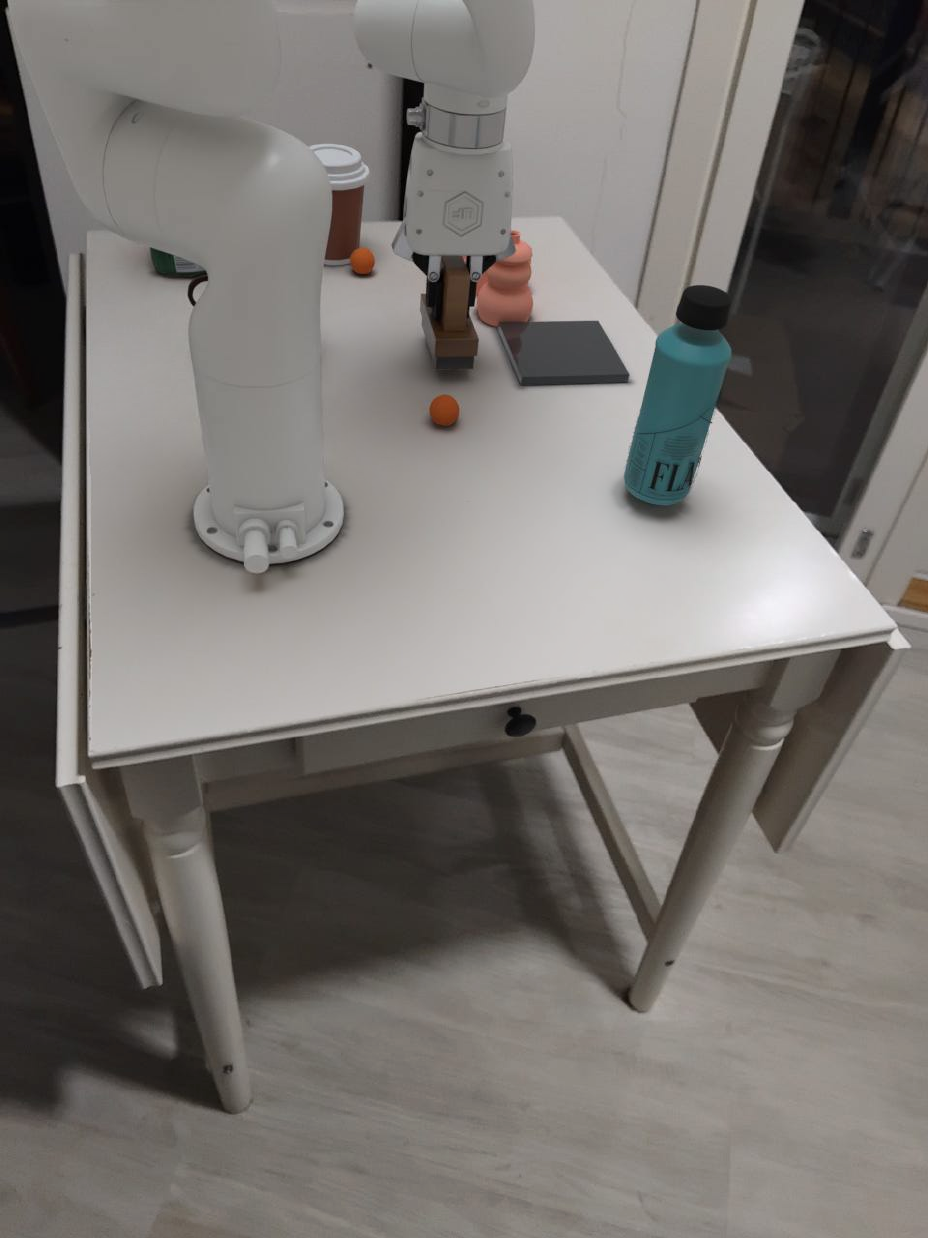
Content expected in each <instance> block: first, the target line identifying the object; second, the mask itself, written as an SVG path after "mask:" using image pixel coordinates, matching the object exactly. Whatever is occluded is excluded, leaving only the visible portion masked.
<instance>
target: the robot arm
mask: <svg viewBox="0 0 928 1238" xmlns="http://www.w3.org/2000/svg"><path fill="white" fill-rule="evenodd" d="M7 6H8V11H9V17H10V22H11V26H12V29H13V32H14V36H15V39H16V42H17V45H18V48H19V50H20V53H21V56H22V59H23V61H24V65H25V66H26V69H27V71H28V74H29V77H30V80H31V82H32V84H33V87H34V89H35V93H36V95H37V97H38V100H39V103H40V105H41V108H42V110H43V113H44V115H45V117H46V120H47V122H48V125H49V127H50V130H51V132H52V135H53V137H54V140H55V142H56V145H57V147H58V150H59V153H60V155H61V157H62V161H63V162H64V165H65V167H66V169H67V172H68V175H69V176H70V180H71V182H72V184H73V186H74V188H75V190H76V193H77V194H78V196H79V198H80V199H81V201H82V203H83V205H84V207H85V208H86V210H87V211H88V212H89V213H90V214H91V216H92V217H93V218H94V219H95V221H97V222H98V223H99V225H101V226H103V227H104V228H105V229H106V230H108V231H110V233H113V234H115V235H117V236H119V237H121V238H124V239H126V240H128V241H132V242H134V243H137V244H140V245H142V246H145V247H148V248H150V247H151V248H154V249H157V250H160V251H163V252H166V253H169V254H172V255H175V256H178V257H181V258H183V259H185V260H188V261H191V262H193V263H196V264H198V265H200V266H202V267H203V268H204V269H205V270H206V274H208V281H207V285H206V287H205V289H204V291H203V292H202V294H201V295H200V297H199V298H198V300H197V301H196V304H195V306H194V307H193V308H192V309H191V312H190V315H189V320H188V331H187V332H188V333H187V334H188V344H189V352H190V359H191V365H192V373H193V379H194V386H195V387H194V388H195V395H196V401H197V409H198V417H199V423H200V424H199V425H200V430H201V431H200V432H201V437H202V446H203V454H204V460H205V461H204V462H205V469H206V475H207V481H208V484H206V486H205V487H204V488H202V490H201V491H200V493H199V494H198V496H197V497H196V499H195V502H194V505H193V521H194V526H195V529H196V530H195V531H196V532H197V534H198V536H199V538H200V539H201V540H202V541H203V542H204V544H205V545H207V546H208V548H210V549H212V550H213V551H215V552H216V553H218V554H221V555H222V556H224V557H226V558H229V559H232V560H236V561H239V562H243V566H244V567H243V568H244V569H245V570H246V571H247V572H248V573H251V574H261V573H264V572H266V571H267V570H268V569H269V566H270V565H273V564H283V563H289V562H292V561H293V562H294V561H298V560H300V559H304V558H306V557H308V556H311V555H313V554H315V553H317V552H319V551H321V550H322V549H324V548H325V547H326V546H328V545H329V544H330V543H331V542H332V541H334V540H335V538H336V537H337V535H338V534H339V533H340V531H341V528H342V526H343V524H344V516H345V513H344V510H345V509H344V501H343V498H342V495H341V493H340V492H339V491H338V489H337V487H336V486H335V485H334V484H333V483H332V482H330V481H329V480H328V479H326V478H325V442H324V441H325V439H324V409H323V407H324V406H323V375H322V372H323V371H322V343H321V340H322V339H321V304H322V303H321V300H322V299H321V298H322V284H323V283H322V282H323V273H324V272H323V271H324V266H325V264H324V259H325V253H326V247H327V241H328V235H329V230H330V223H331V215H332V189H331V183H330V180H329V176H328V174H327V171H326V169H325V167H324V165H323V164H322V162H321V160H320V159H319V158H318V156H317V155H316V154H315V153H314V152H313V151H312V150H311V149H310V148H309V147H310V146H308V145H307V144H306V143H305V142H303V141H302V140H300V139H299V138H298V137H296V136H294V135H292V134H290V133H289V132H286V131H284V130H282V129H281V128H278V127H275V126H272V125H270V124H267V123H265V122H261V121H257V120H254V119H251V118H246V117H243V116H246V115H249V114H251V113H253V112H255V111H257V110H259V109H260V108H261V107H263V106H264V105H265V104H266V103H267V102H268V100H269V99H270V98H271V96H272V95H273V93H274V91H275V90H276V87H277V85H278V80H279V76H280V74H281V73H280V71H281V62H282V58H281V57H282V55H281V54H282V51H281V49H282V48H281V47H282V44H281V34H280V25H279V18H278V12H277V11H278V10H277V5H276V0H7ZM353 32H354V38H355V42H356V44H357V47H358V49H359V51H360V52H361V54H362V56H363V58H365V60H366V61H367V62H368V63H370V65H371V66H373V67H375V69H378V70H379V71H381V72H383V73H386V74H389V75H392V76H395V77H398V78H402V79H407V80H410V81H415V82H418V83H423V97H421V102H420V103H419V106H415V108H407V110H406V123H407V125H408V126H415V127H417V128H419V129H420V131H419V132H417V133H416V134H415V136H414V140H413V143H412V148H411V154H410V157H409V163H408V170H407V177H406V185H405V192H404V193H405V194H404V203H403V217H402V219H403V220H402V221H401V224H400V226H399V228H398V230H397V232H396V234H395V236H394V238H393V240H392V243H391V249H392V252H393V254H394V255H395V256H398V257H400V258H402V259H404V260H406V261H409V262H412V263H413V264H414V265H415V266H416V267H417V268H418V269H419V270H420V271H421V272H422V273H423V274H424V275H425V276H426V281H425V282H426V283H425V285H426V286H425V294H426V306H427V307H431V310H432V312H433V315H434V318H435V319H440V317H442V303H443V289H444V283H443V280H442V277H441V275H442V274H441V272H440V267H441V256H466V257H465V264H466V267H467V269H468V271H469V274H470V286H469V297H468V308H467V318H469V315H470V310H471V309H470V308H473V307H474V308H475V305H476V298H477V297H476V296H477V294H476V286H477V281H479V280H480V279H481V277H482V274H483V273H484V272H485V271H487V270H488V269H489V268H490V267H491V266H492V265H493V264H494V263H495V262H496V261H498V260H499V261H500V260H502V259H504V258H507V257H509V256H511V255H513V254H514V253H515V251H516V248H515V245H514V242H513V239H512V236H511V229H512V215H513V197H514V196H513V193H514V188H513V187H514V164H513V149H512V144H511V143H510V141H508V139H507V138H505V137H504V136H505V125H506V116H507V105H508V96H509V94H511V93H512V92H513V91H515V90H516V89H517V88H518V87H519V85H520V84H521V83H522V82H523V80H524V78H525V77H526V75H527V73H528V70H529V69H530V66H531V63H532V59H533V55H534V50H535V49H534V48H535V41H536V40H535V39H536V37H535V36H536V19H535V4H534V0H356V3H355V7H354V13H353Z"/></svg>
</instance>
